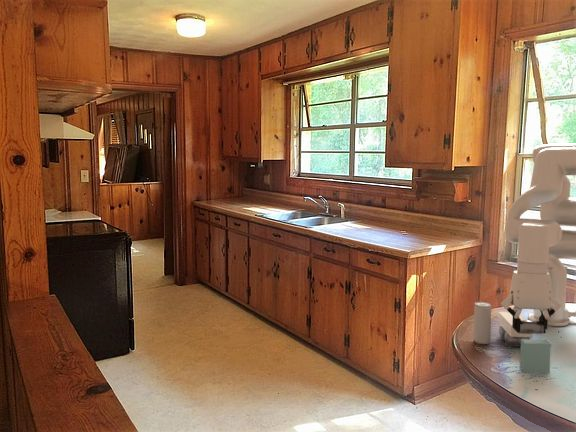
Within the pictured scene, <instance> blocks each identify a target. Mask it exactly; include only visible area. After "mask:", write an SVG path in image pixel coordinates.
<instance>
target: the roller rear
mask: <svg viewBox="0 0 576 432" xmlns="http://www.w3.org/2000/svg"><path fill="white" fill-rule="evenodd" d="M505 333H506V331H505V330H504V328H503V327H502V326H501V325H500V326H499V329H498V334H499V335H498V336H499V338H500V340H505Z"/></svg>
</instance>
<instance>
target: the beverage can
mask: <svg viewBox="0 0 576 432" xmlns="http://www.w3.org/2000/svg"><path fill="white" fill-rule="evenodd" d="M473 307H474V308H473V313H474V314H473V341H474V342H475V343H476V344H479V345H488V344H490V343H491V335H492V334H491V332H492V331H491V327H492V326H491V325H492V305H491V303H489V302H486V301H477V302H474V306H473Z"/></svg>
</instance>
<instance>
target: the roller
mask: <svg viewBox="0 0 576 432" xmlns="http://www.w3.org/2000/svg"><path fill="white" fill-rule="evenodd" d="M543 332H544V325H543V323H542V321H531V320H530V319H526V320H521V324H520V332H519V333H521V334H532V335H543V334H544V333H543Z"/></svg>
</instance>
